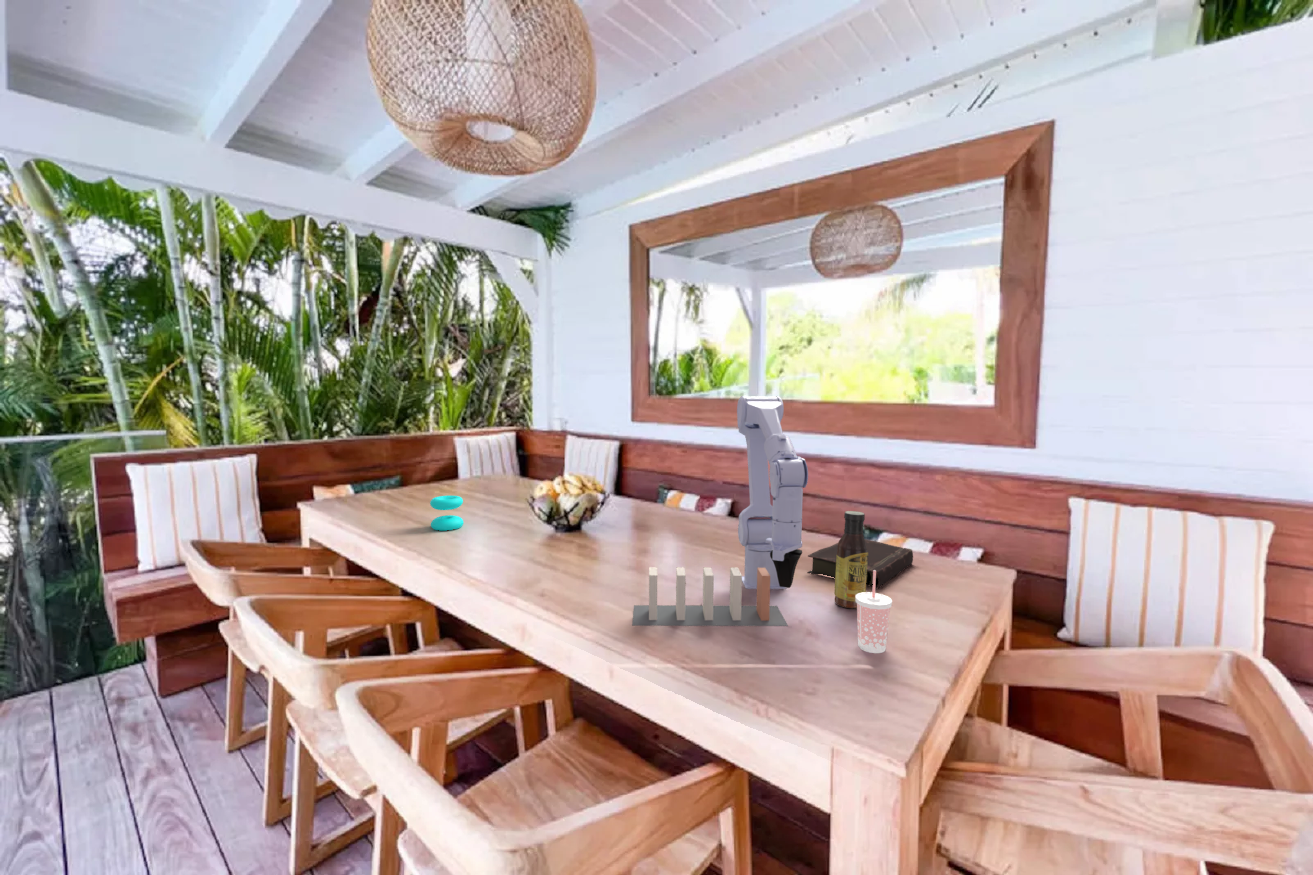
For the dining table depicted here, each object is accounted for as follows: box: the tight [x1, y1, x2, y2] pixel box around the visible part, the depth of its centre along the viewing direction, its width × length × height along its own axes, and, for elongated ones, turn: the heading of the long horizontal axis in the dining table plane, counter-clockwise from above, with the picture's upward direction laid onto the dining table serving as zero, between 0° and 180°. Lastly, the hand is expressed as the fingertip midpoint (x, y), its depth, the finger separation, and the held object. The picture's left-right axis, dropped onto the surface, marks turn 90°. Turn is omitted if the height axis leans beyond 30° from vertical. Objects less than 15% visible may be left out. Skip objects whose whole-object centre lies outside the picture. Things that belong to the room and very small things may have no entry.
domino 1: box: [648, 566, 658, 620], centre depth 113 cm, size 2×5×9 cm, turn 0°
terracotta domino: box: [756, 568, 771, 620], centre depth 114 cm, size 2×5×9 cm, turn 1°
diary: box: [806, 538, 914, 589], centre depth 145 cm, size 19×25×5 cm
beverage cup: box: [855, 570, 893, 654], centre depth 100 cm, size 6×6×14 cm
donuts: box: [429, 495, 464, 532], centre depth 184 cm, size 10×10×10 cm
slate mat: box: [631, 604, 789, 627], centre depth 114 cm, size 30×10×1 cm, turn 90°
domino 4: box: [729, 567, 743, 620], centre depth 114 cm, size 2×5×9 cm, turn 0°
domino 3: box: [702, 567, 715, 620], centre depth 113 cm, size 2×5×9 cm, turn 0°
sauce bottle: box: [833, 510, 868, 609], centre depth 120 cm, size 6×6×20 cm
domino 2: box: [675, 566, 686, 620], centre depth 113 cm, size 2×5×9 cm, turn 0°
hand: (785, 586), depth 113 cm, fingers closed
